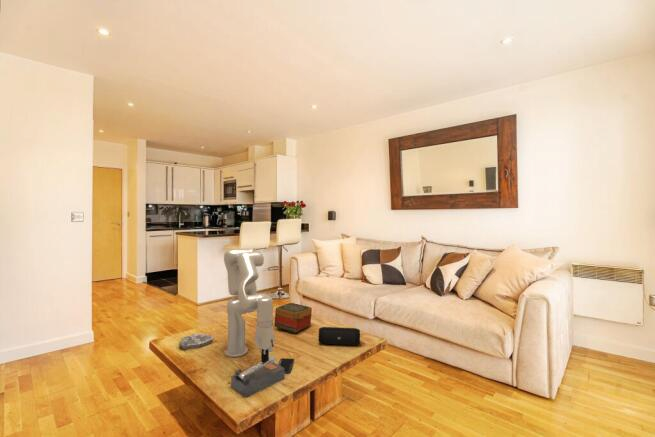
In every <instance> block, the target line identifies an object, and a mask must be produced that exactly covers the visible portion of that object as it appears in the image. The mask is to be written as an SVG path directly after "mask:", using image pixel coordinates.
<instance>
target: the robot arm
mask: <svg viewBox="0 0 655 437" xmlns="http://www.w3.org/2000/svg"><path fill="white" fill-rule="evenodd" d="M223 262H224V266H225V269H226V274H227V285H228V286H227V287H228V293H229V295H230V296H238V297H234V298H231V299H229V300H228V301H227V303H226V311H227V312H226V313H227V323H228V324H227V325H228V326H227V343H226V346H227V348H226V350H225V351H224V354H225V356H226V357H228V358H229V357H230V358H238V357H242V356H244V355H246V354H247V353H248V351H249V350H248V349H249V348H248V347H246V320H245V318H244V317H243V316H242V315H243V314H249V313H253V312H256V326H255V331H254V332H255V333H254V345H255V347H258V348H259V349H260V357H261V358H260V359H261V360H260V361H261V362H263V363H265V362H267V361H269V354H270V353H272V352H274V348H275V331H274V300H273V298H272V297H271V296H269V295H268V294H267V293H264V292H263V293H258V291H257V290H258V289H257V282H256V281H257V280H258V278H259V272H258V270H257V268H258V267H261V266H263V265H264V263H265V259H264V255H263V253H262V252H261V251H259V250H257V249H255V248H248V247H247V248H233V249H229V250H226V251H225V253H224V254H223Z"/></svg>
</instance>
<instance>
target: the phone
mask: <svg viewBox="0 0 655 437" xmlns="http://www.w3.org/2000/svg"><path fill="white" fill-rule="evenodd" d="M294 363H295V358H288V357H287V358H285V357H284V358H282V357H281V358H280V359H279V362H278V365H280V366H281V367H283V368H285V375H290V374H291V373H292V370H293V366H294Z"/></svg>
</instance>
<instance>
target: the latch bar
mask: <svg viewBox="0 0 655 437" xmlns="http://www.w3.org/2000/svg"><path fill="white" fill-rule="evenodd" d="M273 362H274V363H275V362H277V357H275V356H274V355H271V354H270V353H269V361H267V362H265V363H263V362H261V360H260V361H259V362H257V363H255V364H254V365H252V366H250V367H249V368H248V369H246V371H245V370H243V371H244V372H243V371H241V372H242V373H241V372H239V373H238V374H237V376H238V377H239V378H241V379H242V380H243V376H245V375H247V374H248V375H251V374H252V373H254V372H255V371H257V370H259V369H260V368H262V367H263V366H265V365H266V364H268V363H271V364H272V363H273Z"/></svg>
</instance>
